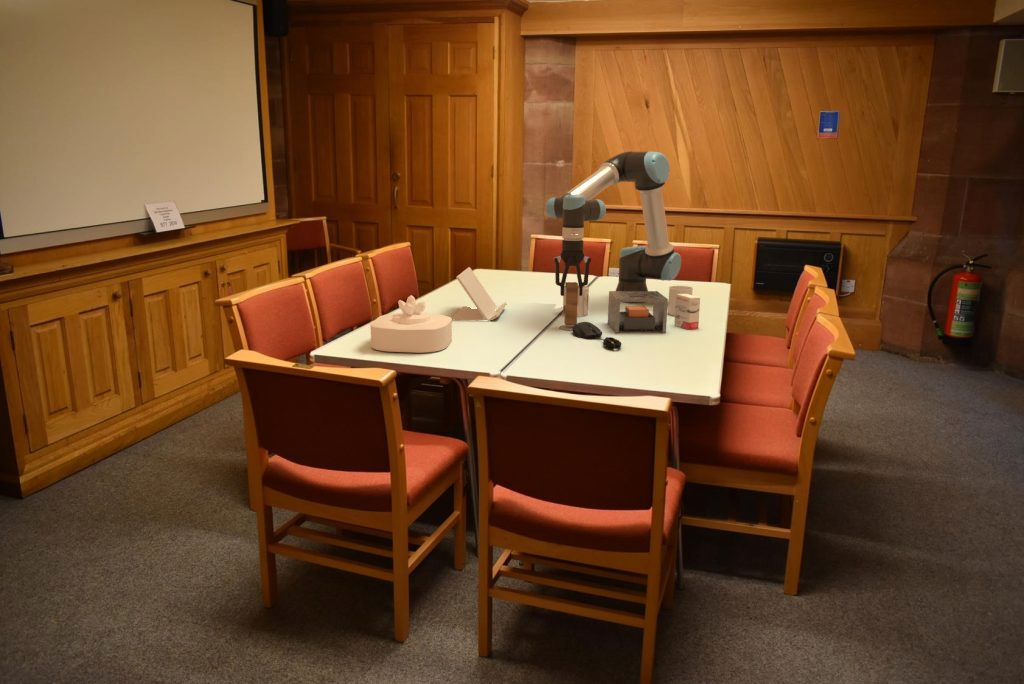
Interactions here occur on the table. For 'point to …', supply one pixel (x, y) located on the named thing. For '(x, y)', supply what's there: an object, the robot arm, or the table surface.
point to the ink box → (687, 311)
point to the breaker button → (636, 311)
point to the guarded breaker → (637, 323)
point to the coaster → (567, 327)
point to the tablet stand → (476, 299)
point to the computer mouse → (594, 334)
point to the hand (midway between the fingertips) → (571, 304)
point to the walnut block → (571, 303)
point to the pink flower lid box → (411, 330)
